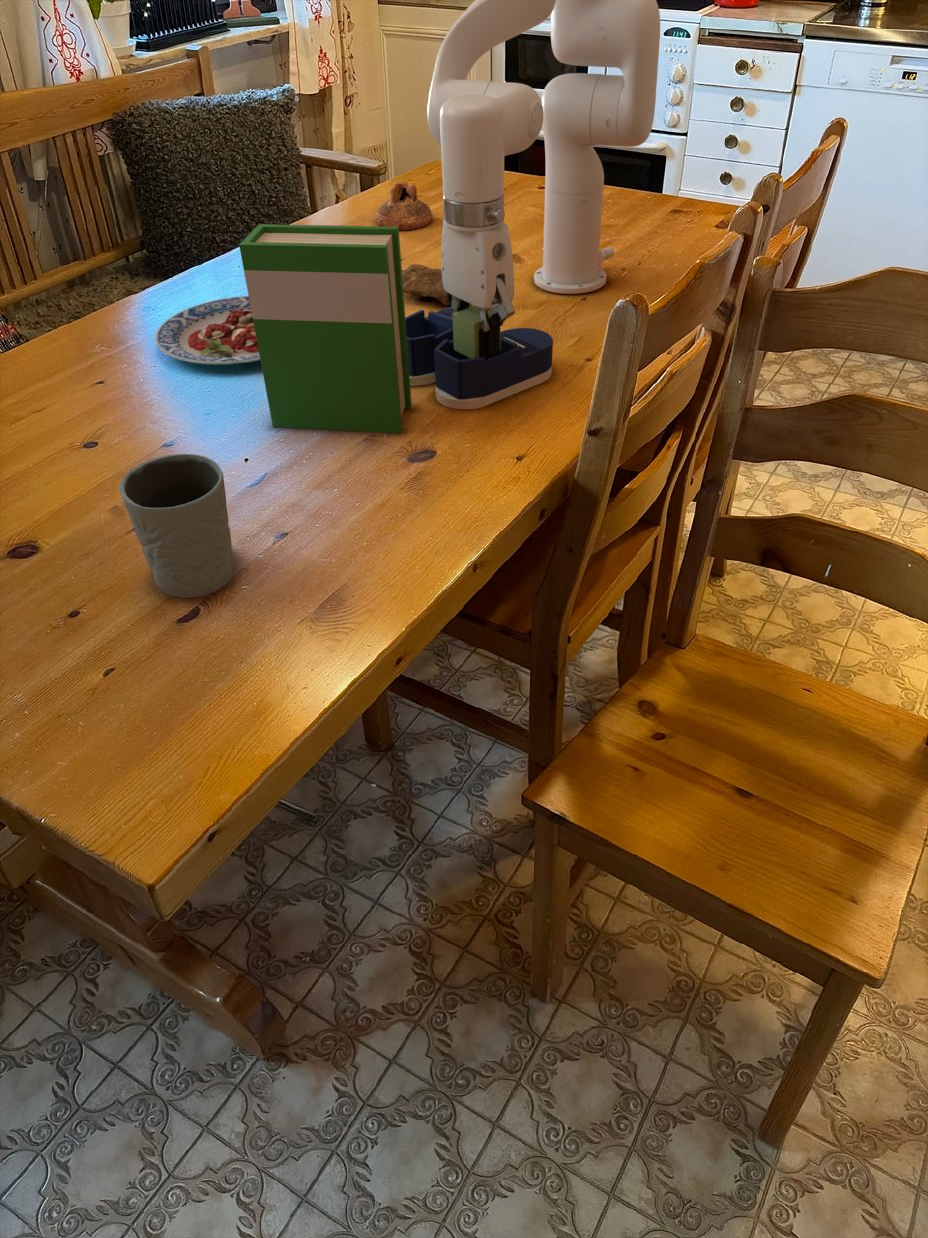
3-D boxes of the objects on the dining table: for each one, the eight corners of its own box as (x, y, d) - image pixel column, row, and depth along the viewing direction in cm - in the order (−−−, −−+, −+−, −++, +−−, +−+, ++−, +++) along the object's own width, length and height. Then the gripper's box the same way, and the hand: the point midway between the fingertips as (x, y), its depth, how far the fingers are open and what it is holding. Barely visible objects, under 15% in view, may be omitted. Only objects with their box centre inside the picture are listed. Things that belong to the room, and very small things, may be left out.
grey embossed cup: (180, 540, 104) (153, 447, 96) (261, 553, 101) (240, 459, 93) (131, 595, 96) (98, 499, 88) (216, 611, 94) (190, 513, 86)
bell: (438, 213, 191) (437, 176, 186) (423, 232, 182) (421, 193, 177) (385, 211, 193) (382, 174, 188) (368, 229, 184) (364, 191, 179)
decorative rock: (378, 303, 156) (460, 316, 152) (376, 279, 153) (459, 292, 149) (405, 276, 163) (483, 288, 159) (403, 253, 160) (483, 265, 156)
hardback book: (411, 406, 126) (398, 226, 111) (401, 433, 121) (385, 247, 105) (288, 401, 129) (259, 223, 113) (272, 427, 123) (239, 244, 107)
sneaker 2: (524, 354, 138) (525, 310, 133) (564, 373, 133) (566, 327, 128) (423, 393, 129) (420, 347, 125) (461, 415, 124) (460, 368, 119)
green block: (479, 340, 128) (478, 303, 125) (500, 350, 125) (500, 313, 122) (453, 349, 126) (452, 313, 123) (474, 360, 123) (473, 323, 120)
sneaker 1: (459, 332, 145) (457, 289, 140) (501, 346, 140) (501, 301, 136) (374, 375, 134) (370, 329, 130) (418, 391, 130) (414, 345, 125)
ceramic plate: (242, 297, 159) (239, 279, 157) (355, 328, 147) (353, 310, 145) (123, 351, 143) (118, 333, 141) (239, 391, 131) (235, 372, 129)
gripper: (542, 218, 110) (538, 361, 122) (455, 189, 120) (460, 322, 132) (494, 233, 107) (496, 378, 119) (409, 201, 117) (418, 337, 129)
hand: (477, 347), depth 125 cm, fingers closed on green block, 4 cm apart
